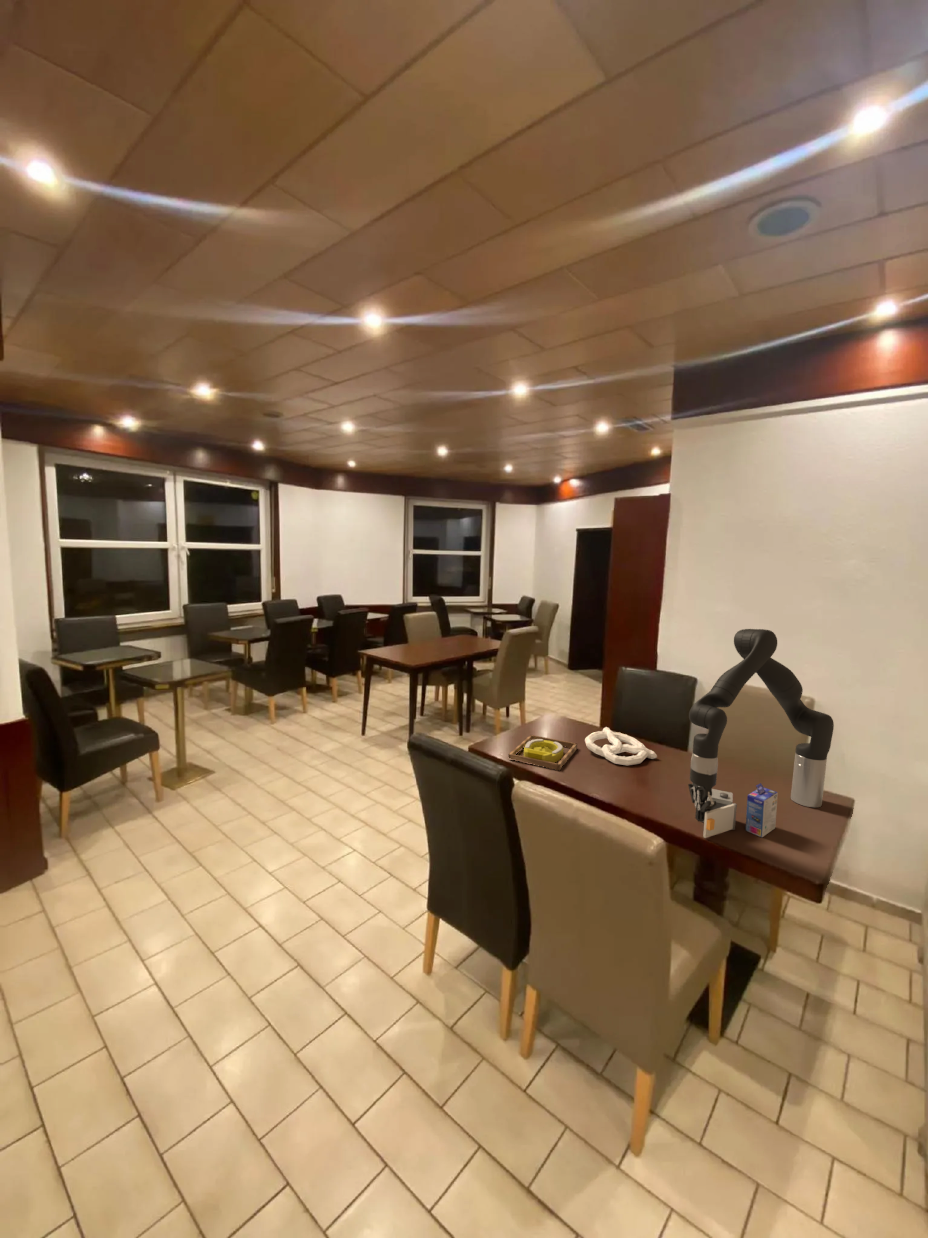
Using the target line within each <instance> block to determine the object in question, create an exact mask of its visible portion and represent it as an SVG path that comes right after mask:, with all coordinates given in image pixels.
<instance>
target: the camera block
mask: <svg viewBox="0 0 928 1238" xmlns="http://www.w3.org/2000/svg"><path fill="white" fill-rule="evenodd" d="M711 797H712V800H713V801H716V805H715V806H714V807H713V808H712V809H711V810H714V809H717V808H721V807H724V806H727V805H731V804H733V801H734V799H733V797H734V794H733V792H731V791H726V790H725V791H724V790H719V789H715V788H712V796H711ZM705 812H707V811H705ZM704 820H705V819H704ZM699 822H702V823H704V821H699Z"/></svg>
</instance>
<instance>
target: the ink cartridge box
mask: <svg viewBox="0 0 928 1238" xmlns="http://www.w3.org/2000/svg"><path fill="white" fill-rule="evenodd" d="M778 795H779V793H778V791H775V790H772V789H769V788H766V787H764V785H763V784H762V783H761V782H760V783H758V784H756V785H755V790H754V791H752V792H750V793H749V794H747V800H746V813H745V814H746V815H745V816H746V817H745V818H746V819H745V821H746V822H745V831H746V832H748V833H750V834H753V835H755V836H758V837H760V838H763V837H765V836H766V835H767V834H769V833H770V832H772V831H773V830H775V829H776V825H777V824H776V821H777V807H778V797H779V796H778Z"/></svg>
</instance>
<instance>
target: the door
mask: <svg viewBox="0 0 928 1238" xmlns="http://www.w3.org/2000/svg"><path fill="white" fill-rule="evenodd" d="M737 807H738V804H737V803H736V802H734V803H732V804H731V805H727V806H724V807H721V808H717V809H714V810H711V811H707V812H705V820H704V822H703V833H702V835H703V836H702V837H703V838H705V839H706V838H710V837H713V836H715V835H719V834H722V833H724V832H728V831H731V830H733V831H734V830H736V819H737Z"/></svg>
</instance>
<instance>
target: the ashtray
mask: <svg viewBox="0 0 928 1238" xmlns="http://www.w3.org/2000/svg"><path fill="white" fill-rule="evenodd" d="M564 748H565V747H563V746H562V745H561V744H560V743H558V742H553V741H548V740H543V739H535V740H531V741H529V742H527V744H526V745H525V747H524V749H523V756H524V757H529V758H534V759H539V760H543V761H548V762H553V763H555V762H556V763H558V762H559V761H560V759H562V757H564V750H565V749H564ZM557 761H558V762H557Z"/></svg>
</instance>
